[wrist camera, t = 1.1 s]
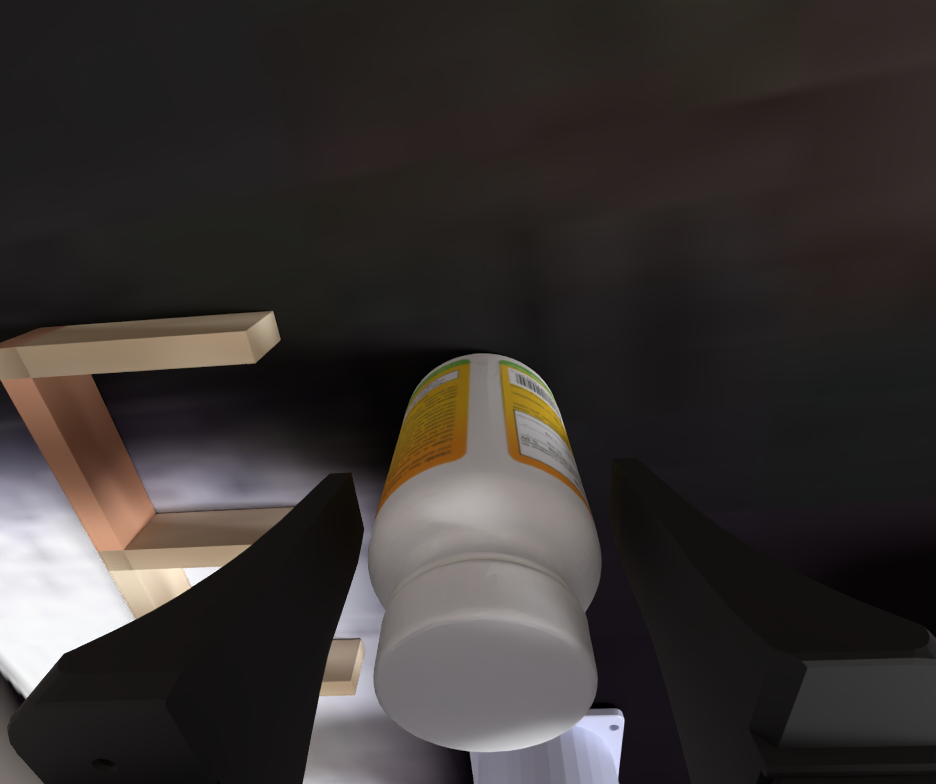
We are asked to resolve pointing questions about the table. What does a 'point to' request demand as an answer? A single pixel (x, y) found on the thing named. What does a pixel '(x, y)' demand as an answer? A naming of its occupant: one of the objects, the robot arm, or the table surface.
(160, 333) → the e-shaped wooden frame
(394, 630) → the supplement bottle
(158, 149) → the table surface
